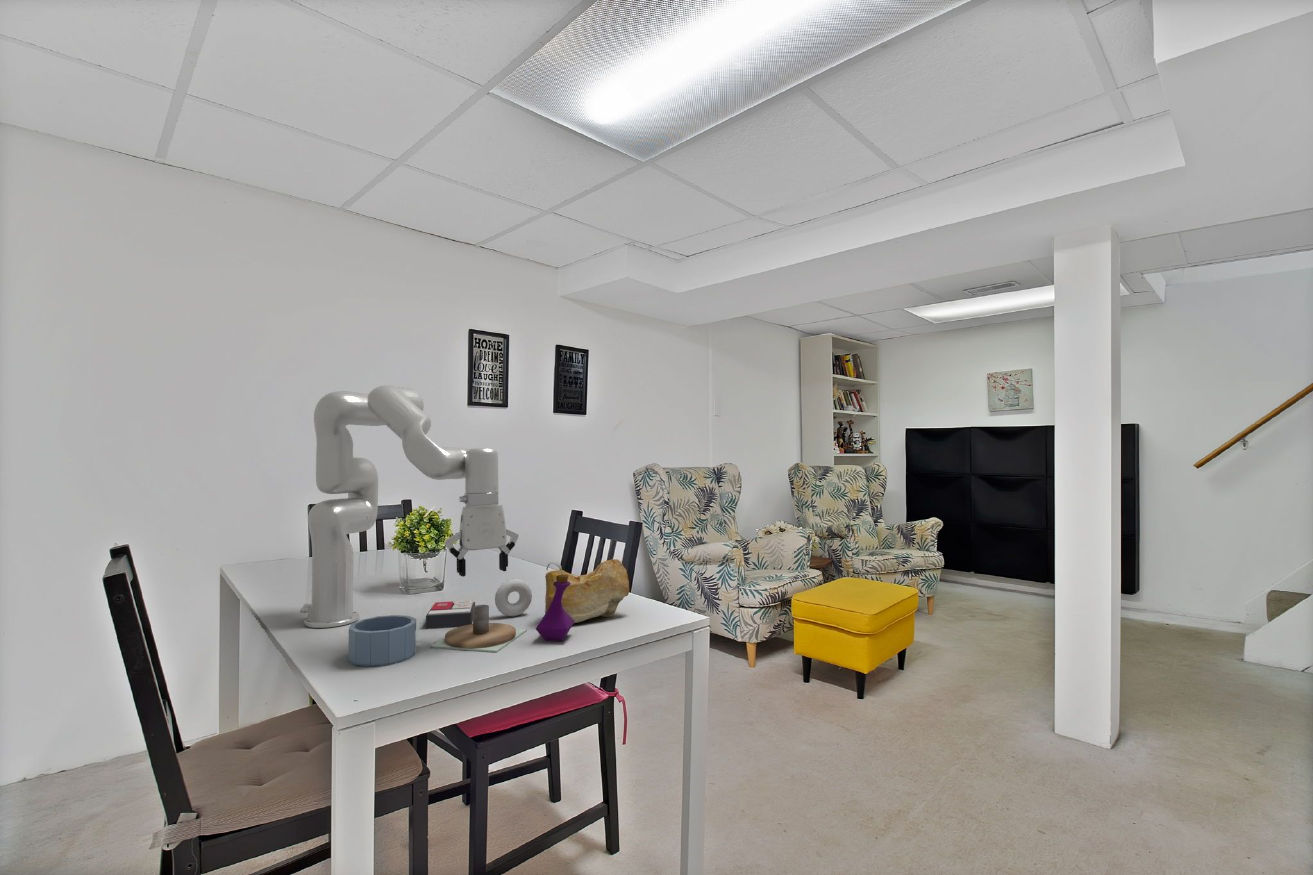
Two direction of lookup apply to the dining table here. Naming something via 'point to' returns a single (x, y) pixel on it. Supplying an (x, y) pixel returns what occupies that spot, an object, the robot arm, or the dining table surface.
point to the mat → (497, 648)
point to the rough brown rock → (591, 591)
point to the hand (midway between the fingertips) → (482, 572)
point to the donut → (504, 592)
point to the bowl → (382, 640)
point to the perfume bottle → (556, 612)
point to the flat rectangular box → (450, 614)
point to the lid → (480, 632)
